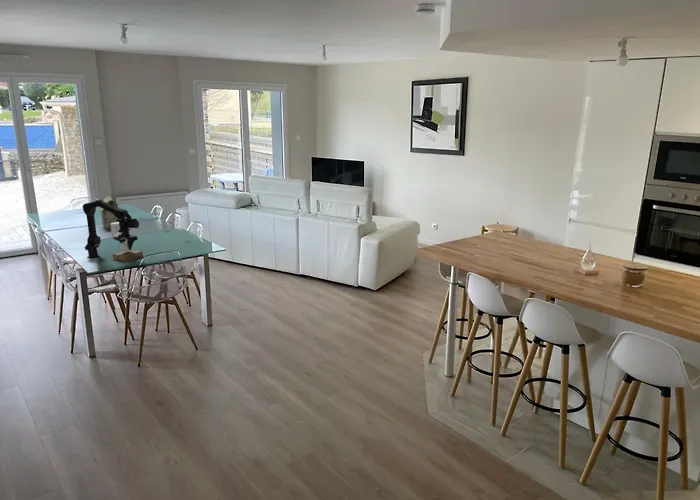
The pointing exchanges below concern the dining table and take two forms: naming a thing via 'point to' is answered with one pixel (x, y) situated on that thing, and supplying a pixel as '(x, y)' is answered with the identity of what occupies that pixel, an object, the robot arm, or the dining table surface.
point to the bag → (108, 213)
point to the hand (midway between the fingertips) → (127, 249)
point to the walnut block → (127, 255)
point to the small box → (114, 227)
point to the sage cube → (125, 247)
